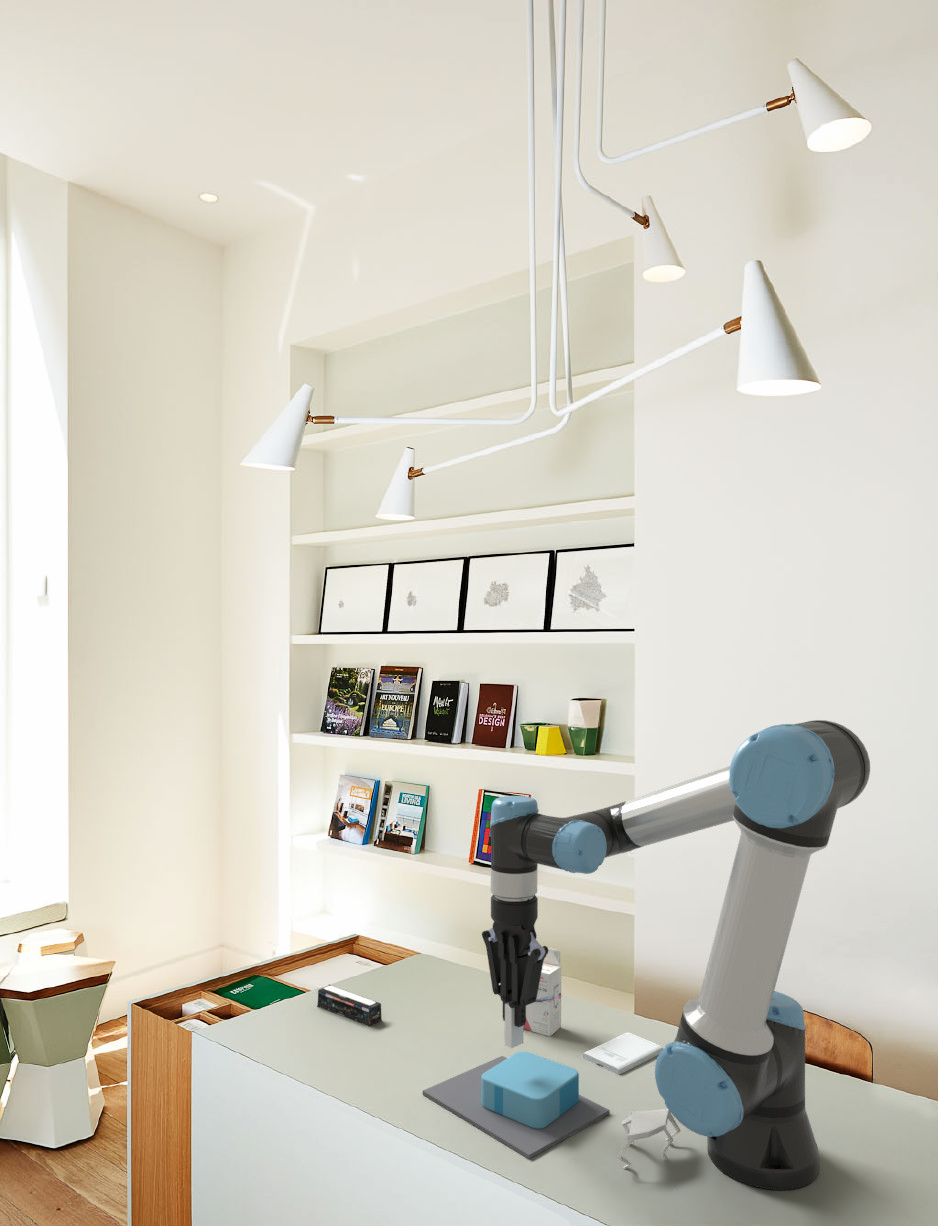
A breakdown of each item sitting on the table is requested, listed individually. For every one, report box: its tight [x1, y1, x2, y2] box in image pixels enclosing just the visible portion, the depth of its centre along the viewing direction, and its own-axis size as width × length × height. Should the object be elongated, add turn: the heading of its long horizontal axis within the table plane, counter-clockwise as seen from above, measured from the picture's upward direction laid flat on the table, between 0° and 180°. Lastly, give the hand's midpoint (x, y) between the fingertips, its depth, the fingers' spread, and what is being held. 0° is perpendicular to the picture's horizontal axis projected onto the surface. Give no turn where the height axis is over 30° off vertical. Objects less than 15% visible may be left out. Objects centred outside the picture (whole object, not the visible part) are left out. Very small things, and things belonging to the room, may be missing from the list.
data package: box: [481, 1050, 580, 1129], centre depth 139 cm, size 12×4×12 cm
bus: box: [316, 983, 383, 1027], centre depth 172 cm, size 14×25×4 cm, turn 51°
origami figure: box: [617, 1108, 681, 1170], centre depth 126 cm, size 12×8×5 cm
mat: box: [422, 1055, 611, 1160], centre depth 140 cm, size 24×18×1 cm
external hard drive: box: [582, 1032, 664, 1075], centre depth 157 cm, size 2×8×12 cm
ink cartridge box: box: [523, 945, 562, 1037], centre depth 168 cm, size 9×5×15 cm, turn 58°
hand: (514, 1043), depth 140 cm, fingers closed
